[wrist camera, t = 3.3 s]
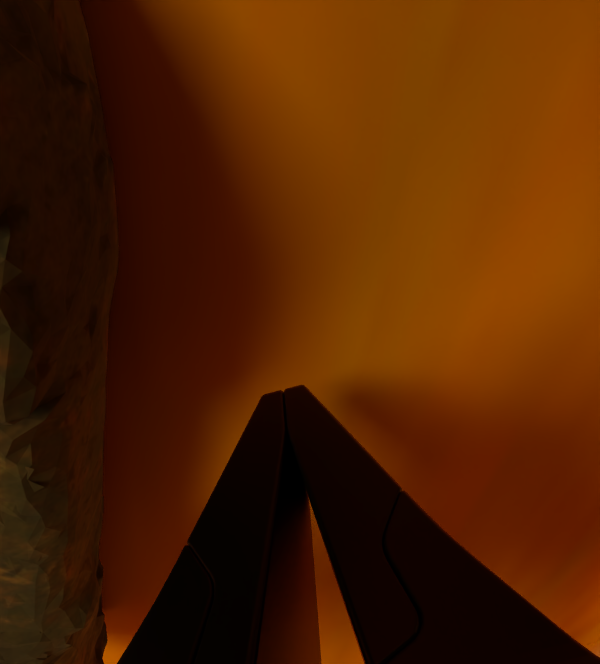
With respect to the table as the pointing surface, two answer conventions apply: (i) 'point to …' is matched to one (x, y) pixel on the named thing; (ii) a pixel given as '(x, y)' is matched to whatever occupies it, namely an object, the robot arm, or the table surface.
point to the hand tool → (52, 334)
